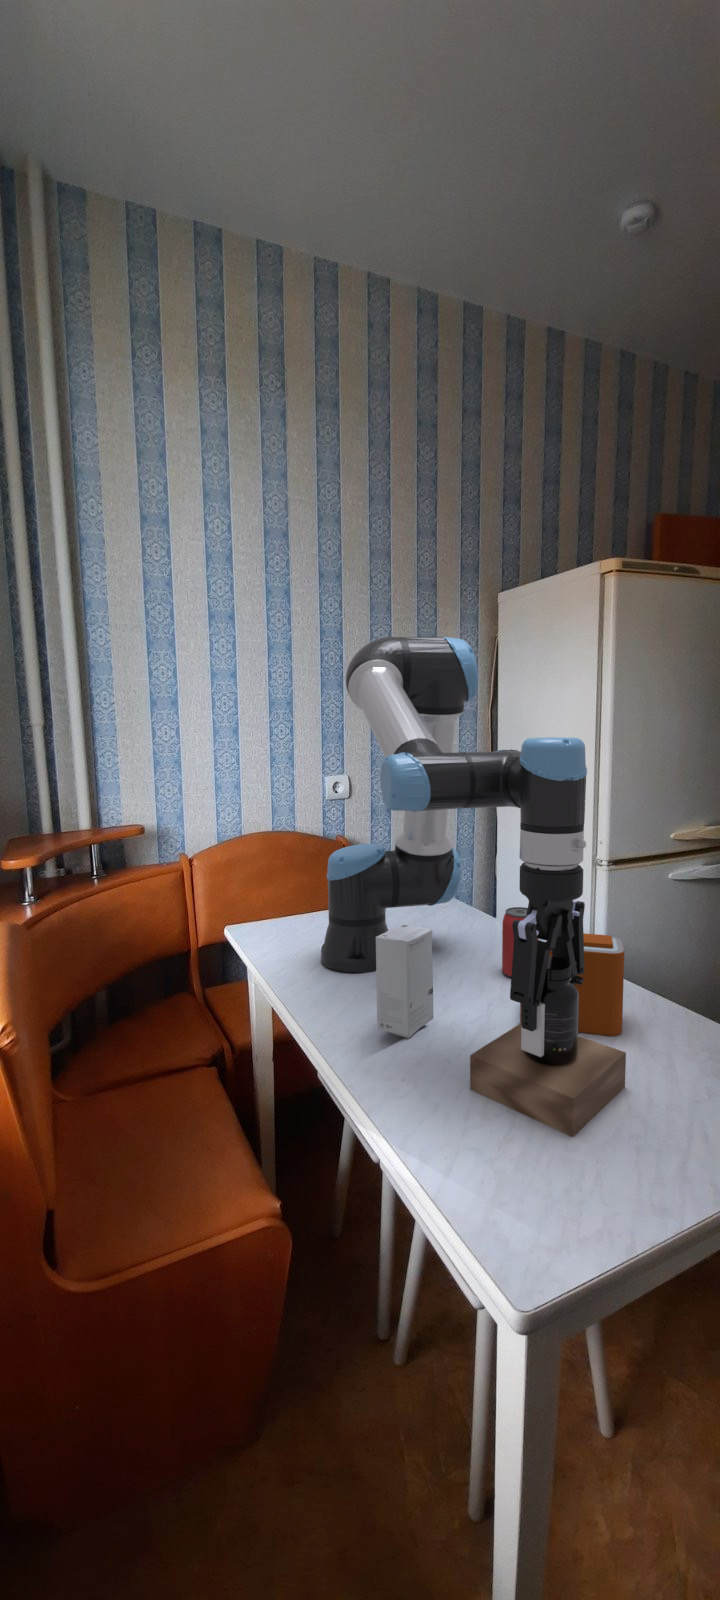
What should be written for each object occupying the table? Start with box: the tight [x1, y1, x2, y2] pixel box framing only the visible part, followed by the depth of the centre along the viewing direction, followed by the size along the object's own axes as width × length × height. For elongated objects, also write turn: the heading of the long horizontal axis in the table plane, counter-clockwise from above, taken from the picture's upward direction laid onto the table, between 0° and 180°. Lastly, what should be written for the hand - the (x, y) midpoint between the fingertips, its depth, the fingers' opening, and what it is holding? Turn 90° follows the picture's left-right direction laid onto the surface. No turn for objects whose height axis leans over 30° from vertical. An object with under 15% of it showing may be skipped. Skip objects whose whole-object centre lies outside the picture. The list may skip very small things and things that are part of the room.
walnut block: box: [469, 1022, 627, 1138], centre depth 82 cm, size 14×14×5 cm
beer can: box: [501, 906, 539, 978], centre depth 120 cm, size 7×7×12 cm
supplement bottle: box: [524, 956, 579, 1065], centre depth 81 cm, size 7×7×12 cm
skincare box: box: [375, 924, 434, 1039], centre depth 100 cm, size 8×6×15 cm
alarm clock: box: [519, 932, 625, 1037], centre depth 101 cm, size 15×8×14 cm, turn 72°
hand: (548, 1041), depth 82 cm, fingers closed on supplement bottle, 7 cm apart
